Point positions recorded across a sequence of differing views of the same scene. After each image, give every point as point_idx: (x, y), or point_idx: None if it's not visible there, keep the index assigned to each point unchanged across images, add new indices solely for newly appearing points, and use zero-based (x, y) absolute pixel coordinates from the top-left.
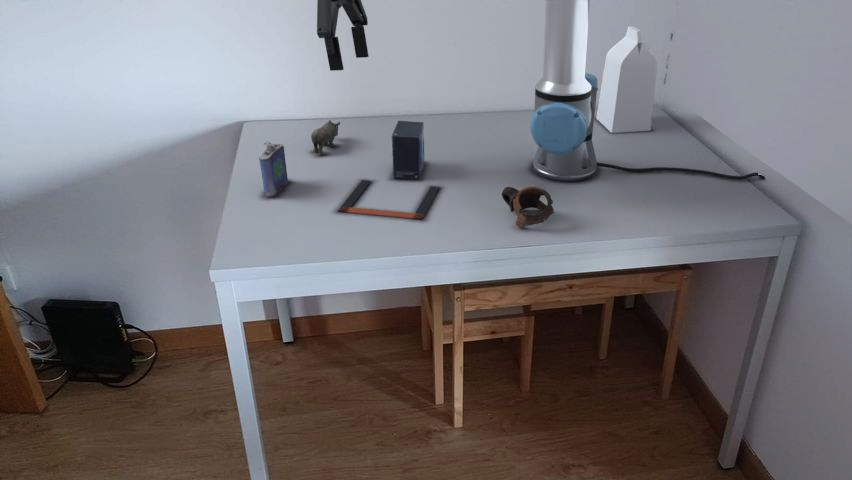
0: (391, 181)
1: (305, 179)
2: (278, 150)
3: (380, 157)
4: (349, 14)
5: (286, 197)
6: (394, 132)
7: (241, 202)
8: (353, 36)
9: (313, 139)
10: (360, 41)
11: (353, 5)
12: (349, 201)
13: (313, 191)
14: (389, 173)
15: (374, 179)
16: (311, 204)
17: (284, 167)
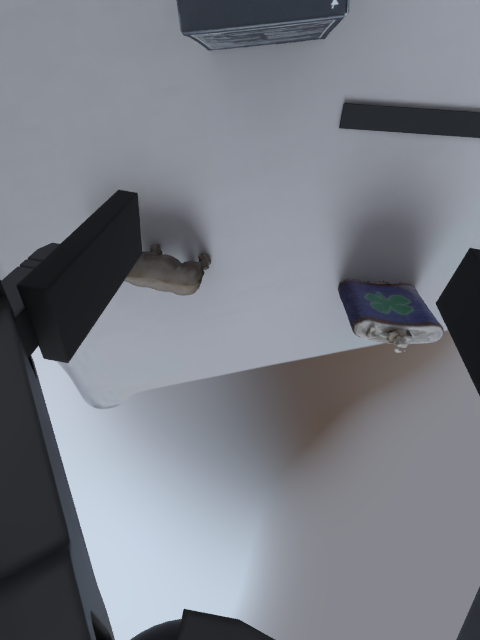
0: (339, 40)
1: (330, 254)
2: (385, 321)
3: (186, 118)
4: (55, 442)
5: (415, 264)
6: (315, 11)
7: None
8: (97, 315)
9: (199, 285)
10: (104, 261)
11: (38, 508)
12: (465, 125)
13: (390, 223)
14: (286, 62)
15: (327, 97)
16: (456, 209)
17: (362, 296)
